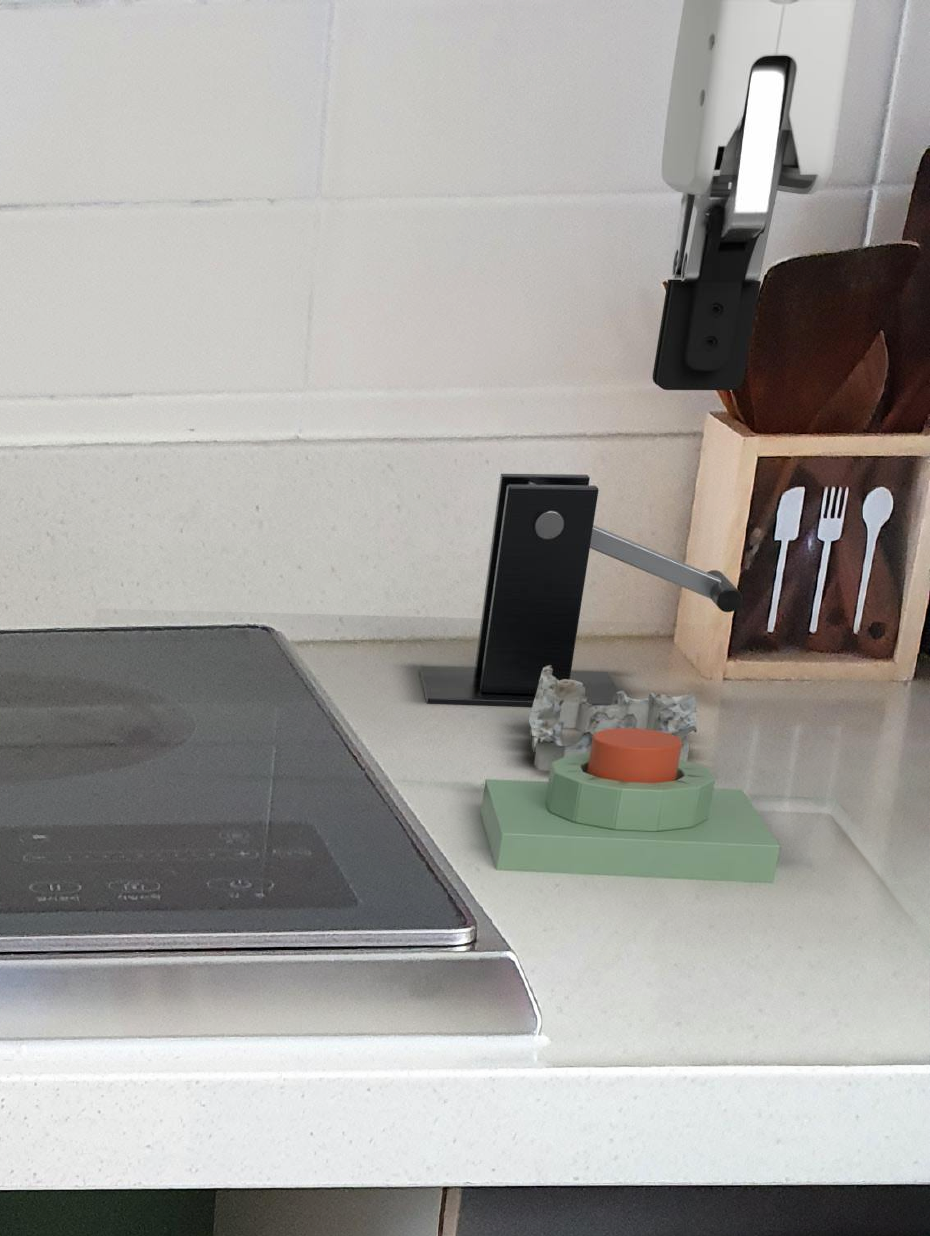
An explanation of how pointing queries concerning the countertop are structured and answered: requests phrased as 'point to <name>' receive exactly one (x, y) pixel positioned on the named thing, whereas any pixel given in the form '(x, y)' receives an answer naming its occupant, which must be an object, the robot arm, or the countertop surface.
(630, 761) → the button
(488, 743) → the countertop surface
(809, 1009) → the countertop surface
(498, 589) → the bracket
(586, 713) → the egg carton
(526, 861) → the button box
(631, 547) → the lever
